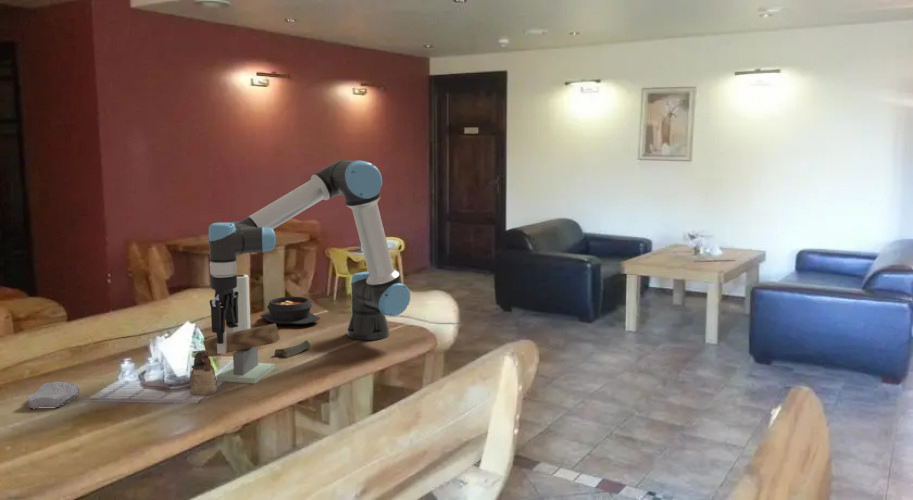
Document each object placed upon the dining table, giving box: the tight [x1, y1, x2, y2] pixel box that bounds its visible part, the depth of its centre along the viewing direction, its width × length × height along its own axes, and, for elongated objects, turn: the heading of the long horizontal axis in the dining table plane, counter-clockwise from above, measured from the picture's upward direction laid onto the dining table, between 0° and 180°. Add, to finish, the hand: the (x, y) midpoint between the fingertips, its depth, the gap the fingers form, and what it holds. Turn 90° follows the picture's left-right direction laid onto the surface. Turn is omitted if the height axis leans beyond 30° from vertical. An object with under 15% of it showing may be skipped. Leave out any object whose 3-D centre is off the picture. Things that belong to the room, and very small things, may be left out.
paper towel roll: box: [233, 273, 251, 332], centre depth 267 cm, size 7×6×21 cm
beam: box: [202, 323, 281, 358], centre depth 222 cm, size 22×4×5 cm, turn 79°
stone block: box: [27, 381, 80, 409], centre depth 200 cm, size 12×5×10 cm
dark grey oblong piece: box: [274, 340, 311, 359], centre depth 245 cm, size 13×5×4 cm, turn 134°
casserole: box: [260, 296, 321, 326], centre depth 285 cm, size 25×19×8 cm
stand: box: [215, 346, 276, 384], centre depth 223 cm, size 12×14×8 cm
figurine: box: [189, 349, 218, 396], centre depth 208 cm, size 7×7×12 cm
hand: (226, 350), depth 223 cm, fingers closed on beam, 4 cm apart
